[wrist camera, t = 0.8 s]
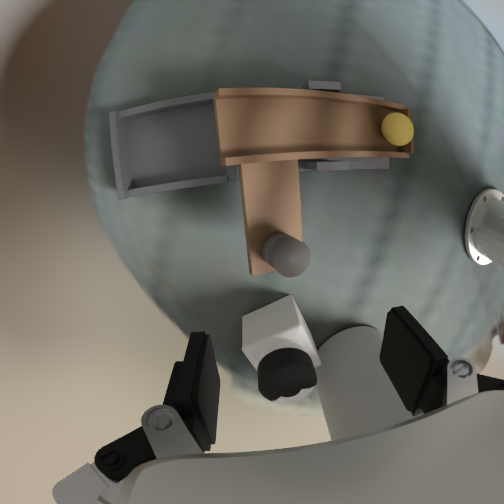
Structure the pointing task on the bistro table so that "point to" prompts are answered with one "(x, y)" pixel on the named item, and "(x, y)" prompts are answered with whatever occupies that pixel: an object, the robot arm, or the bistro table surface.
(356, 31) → the bistro table surface
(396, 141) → the ball
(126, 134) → the tray
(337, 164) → the stand
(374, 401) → the cylinder vase
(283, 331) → the medicine bottle
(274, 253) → the lever
